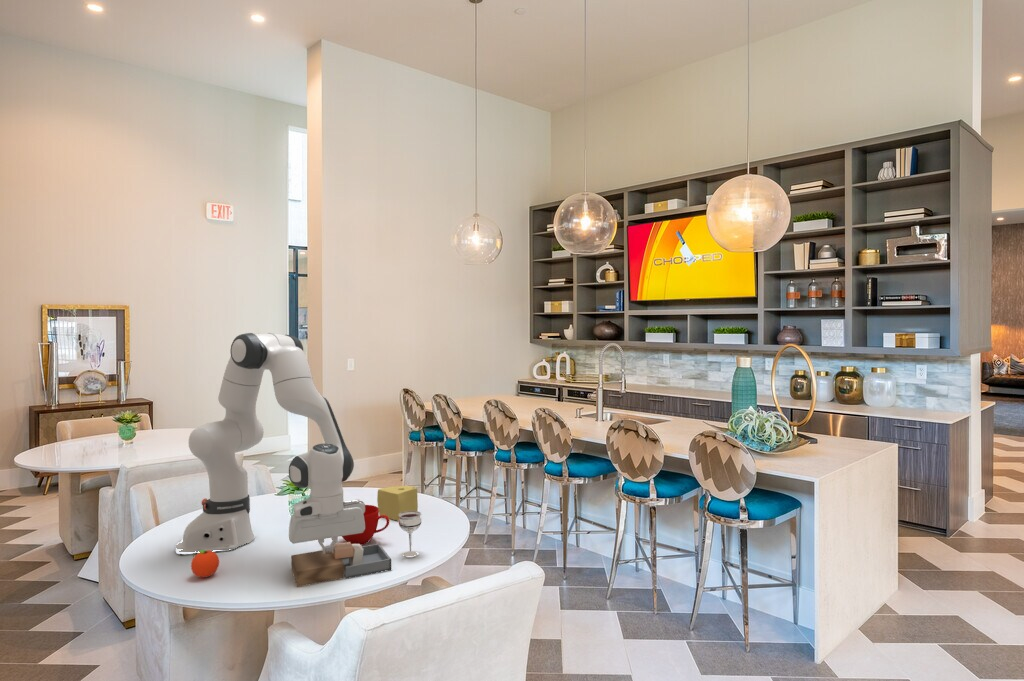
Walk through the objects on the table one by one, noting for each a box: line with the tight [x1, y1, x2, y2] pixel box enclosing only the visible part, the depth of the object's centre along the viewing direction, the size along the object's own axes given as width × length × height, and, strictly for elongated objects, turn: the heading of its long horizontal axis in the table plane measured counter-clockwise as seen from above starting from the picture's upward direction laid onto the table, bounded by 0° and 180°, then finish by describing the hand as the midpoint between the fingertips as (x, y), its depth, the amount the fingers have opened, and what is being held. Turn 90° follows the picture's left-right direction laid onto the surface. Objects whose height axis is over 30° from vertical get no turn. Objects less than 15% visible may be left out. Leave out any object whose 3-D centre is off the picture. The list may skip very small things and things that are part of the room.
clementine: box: [190, 550, 220, 578], centre depth 168 cm, size 8×7×7 cm
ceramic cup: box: [341, 504, 390, 546], centre depth 193 cm, size 13×17×10 cm
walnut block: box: [290, 549, 345, 588], centre depth 168 cm, size 12×13×4 cm
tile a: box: [348, 544, 364, 566], centre depth 173 cm, size 5×5×2 cm
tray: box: [341, 543, 392, 579], centre depth 174 cm, size 12×14×3 cm
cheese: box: [376, 484, 419, 522], centre depth 220 cm, size 10×11×10 cm
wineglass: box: [397, 510, 422, 556], centre depth 182 cm, size 7×7×12 cm
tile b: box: [332, 541, 354, 559], centre depth 171 cm, size 5×5×2 cm
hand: (328, 553), depth 170 cm, fingers closed
